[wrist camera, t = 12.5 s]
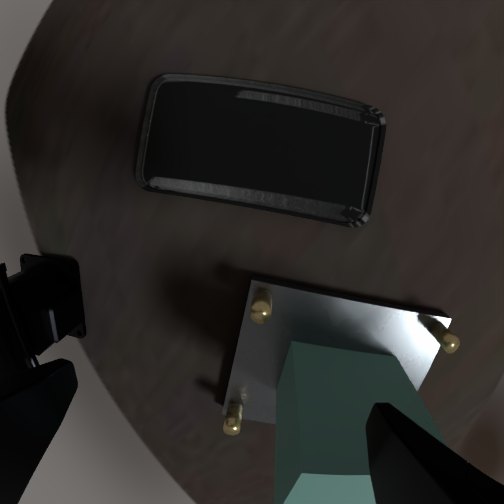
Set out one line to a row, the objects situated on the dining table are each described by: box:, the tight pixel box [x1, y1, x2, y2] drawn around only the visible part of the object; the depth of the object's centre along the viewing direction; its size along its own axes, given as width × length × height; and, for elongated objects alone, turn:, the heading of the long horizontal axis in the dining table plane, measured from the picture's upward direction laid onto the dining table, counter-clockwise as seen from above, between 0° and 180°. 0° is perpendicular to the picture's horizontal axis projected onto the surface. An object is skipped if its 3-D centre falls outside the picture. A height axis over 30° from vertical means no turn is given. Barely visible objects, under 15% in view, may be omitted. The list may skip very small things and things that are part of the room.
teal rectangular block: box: [274, 341, 447, 504], centre depth 16 cm, size 8×4×11 cm, turn 78°
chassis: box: [222, 275, 460, 435], centre depth 20 cm, size 15×12×4 cm
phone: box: [135, 74, 386, 227], centre depth 18 cm, size 8×1×15 cm
